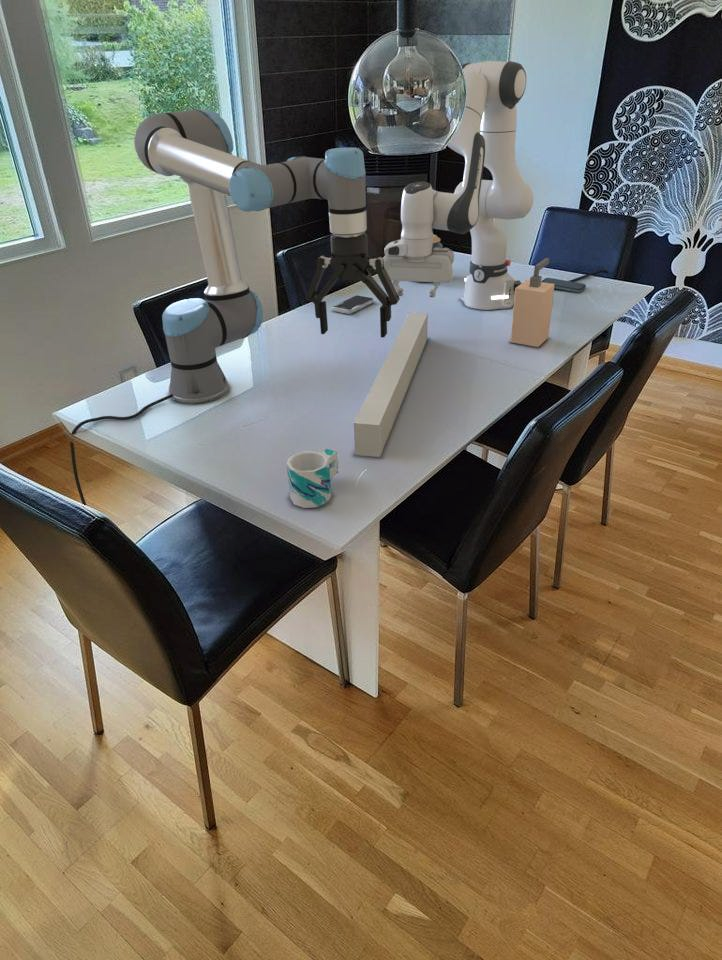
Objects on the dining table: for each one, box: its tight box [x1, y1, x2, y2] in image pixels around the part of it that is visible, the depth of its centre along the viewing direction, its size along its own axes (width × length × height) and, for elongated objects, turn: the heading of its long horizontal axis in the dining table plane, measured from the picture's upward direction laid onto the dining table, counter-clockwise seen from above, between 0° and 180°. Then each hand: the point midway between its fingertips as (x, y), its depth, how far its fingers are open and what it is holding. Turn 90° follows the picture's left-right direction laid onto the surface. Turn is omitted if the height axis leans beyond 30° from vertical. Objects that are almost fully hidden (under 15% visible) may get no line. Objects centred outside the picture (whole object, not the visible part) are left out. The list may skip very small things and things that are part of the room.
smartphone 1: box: [331, 295, 374, 315], centre depth 231 cm, size 8×1×15 cm
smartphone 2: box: [541, 277, 587, 293], centre depth 241 cm, size 8×2×15 cm
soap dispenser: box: [510, 257, 555, 348], centre depth 195 cm, size 13×9×22 cm
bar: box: [353, 312, 429, 458], centre depth 174 cm, size 71×6×8 cm, turn 167°
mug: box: [286, 448, 339, 509], centre depth 133 cm, size 8×12×8 cm
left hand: (353, 333), depth 147 cm, fingers open, 13 cm apart
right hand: (416, 296), depth 193 cm, fingers open, 8 cm apart
